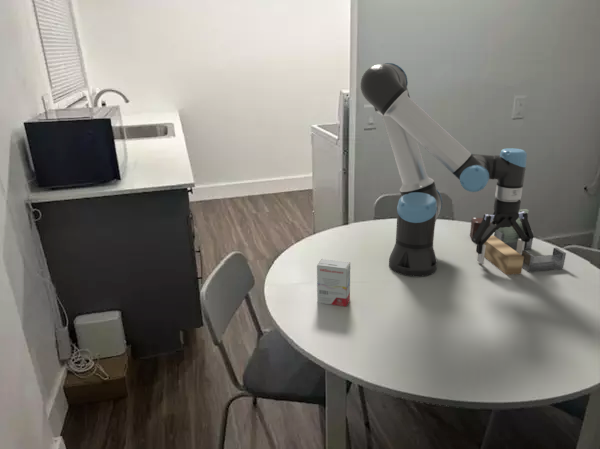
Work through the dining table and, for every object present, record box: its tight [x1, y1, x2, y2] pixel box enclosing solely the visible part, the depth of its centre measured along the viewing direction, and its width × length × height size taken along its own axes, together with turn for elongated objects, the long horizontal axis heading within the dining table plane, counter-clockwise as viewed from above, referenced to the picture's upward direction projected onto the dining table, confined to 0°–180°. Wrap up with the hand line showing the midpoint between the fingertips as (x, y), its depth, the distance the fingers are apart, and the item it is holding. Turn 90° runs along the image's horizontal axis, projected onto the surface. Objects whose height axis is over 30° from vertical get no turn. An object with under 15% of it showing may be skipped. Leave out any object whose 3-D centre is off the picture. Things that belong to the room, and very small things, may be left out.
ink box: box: [316, 258, 351, 307], centre depth 130 cm, size 9×5×12 cm, turn 71°
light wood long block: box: [484, 235, 524, 276], centre depth 153 cm, size 18×5×6 cm, turn 7°
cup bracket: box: [493, 208, 535, 251], centre depth 163 cm, size 12×5×13 cm, turn 99°
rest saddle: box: [522, 247, 567, 273], centre depth 149 cm, size 12×4×6 cm, turn 99°
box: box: [469, 217, 492, 239], centre depth 172 cm, size 6×6×7 cm
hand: (499, 260), depth 154 cm, fingers open, 13 cm apart
